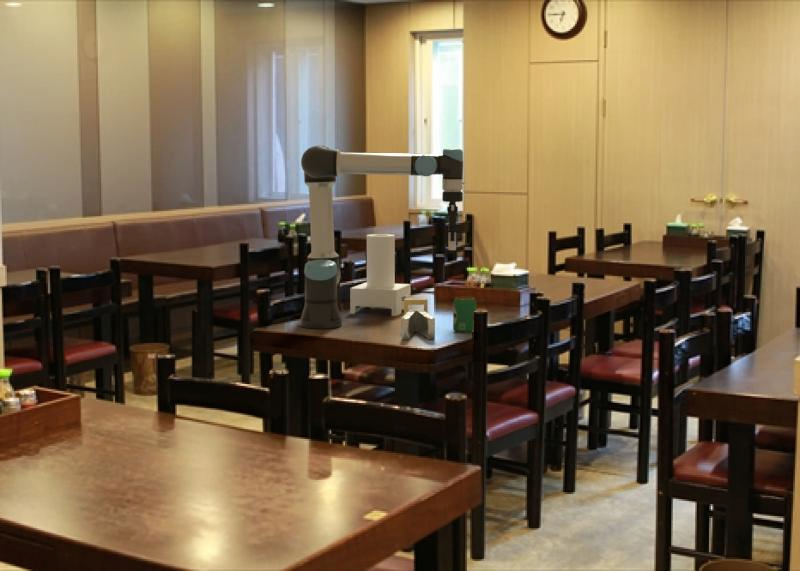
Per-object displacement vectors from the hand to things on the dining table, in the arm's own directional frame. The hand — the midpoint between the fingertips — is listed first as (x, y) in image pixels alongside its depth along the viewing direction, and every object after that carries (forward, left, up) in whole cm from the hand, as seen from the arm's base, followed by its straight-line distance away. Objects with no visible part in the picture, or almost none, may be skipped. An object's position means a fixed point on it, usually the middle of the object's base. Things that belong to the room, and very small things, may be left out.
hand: (452, 248), depth 424 cm
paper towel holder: (-26, +23, -27) cm, 44 cm away
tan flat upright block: (-14, -20, -27) cm, 37 cm away
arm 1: (-17, -33, -27) cm, 46 cm away
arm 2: (-11, -33, -27) cm, 44 cm away
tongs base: (-14, -21, -27) cm, 37 cm away
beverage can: (+3, -25, -27) cm, 37 cm away
